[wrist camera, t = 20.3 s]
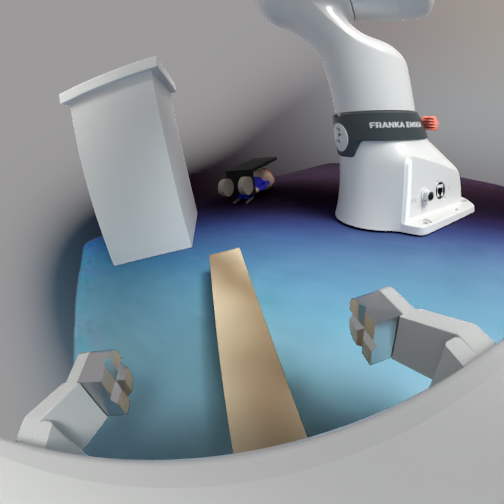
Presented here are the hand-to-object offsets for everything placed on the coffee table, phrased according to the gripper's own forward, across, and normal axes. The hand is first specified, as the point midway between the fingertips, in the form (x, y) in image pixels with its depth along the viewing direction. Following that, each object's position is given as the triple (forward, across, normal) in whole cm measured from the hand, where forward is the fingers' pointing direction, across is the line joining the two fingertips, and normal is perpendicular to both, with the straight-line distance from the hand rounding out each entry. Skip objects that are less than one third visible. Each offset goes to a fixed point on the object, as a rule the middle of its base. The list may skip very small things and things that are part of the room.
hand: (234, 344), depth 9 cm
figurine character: (+51, -7, +7) cm, 52 cm away
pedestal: (+38, +11, +7) cm, 40 cm away
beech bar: (+5, 0, +4) cm, 7 cm away
